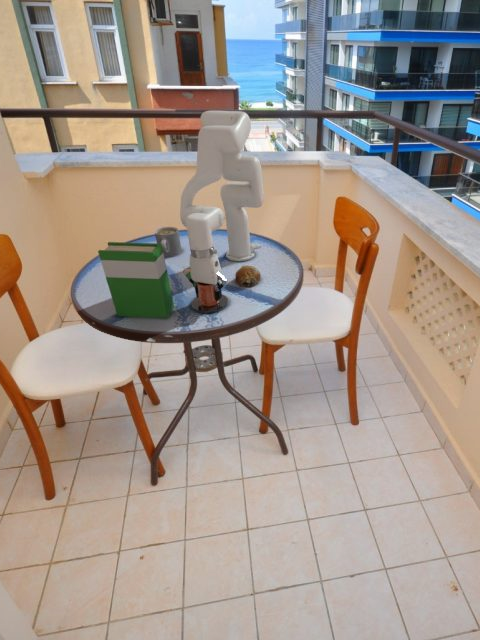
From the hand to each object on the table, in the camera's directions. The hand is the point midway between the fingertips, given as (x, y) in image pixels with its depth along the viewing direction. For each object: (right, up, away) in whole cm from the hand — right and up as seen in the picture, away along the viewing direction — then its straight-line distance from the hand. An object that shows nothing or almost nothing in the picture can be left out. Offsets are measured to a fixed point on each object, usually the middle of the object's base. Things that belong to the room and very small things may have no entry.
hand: (209, 297), depth 148 cm
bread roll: (+12, +7, +16) cm, 21 cm away
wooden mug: (0, -2, 0) cm, 2 cm away
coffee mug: (-27, +22, +37) cm, 51 cm away
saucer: (0, -2, +2) cm, 3 cm away
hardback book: (-21, -5, -3) cm, 22 cm away
